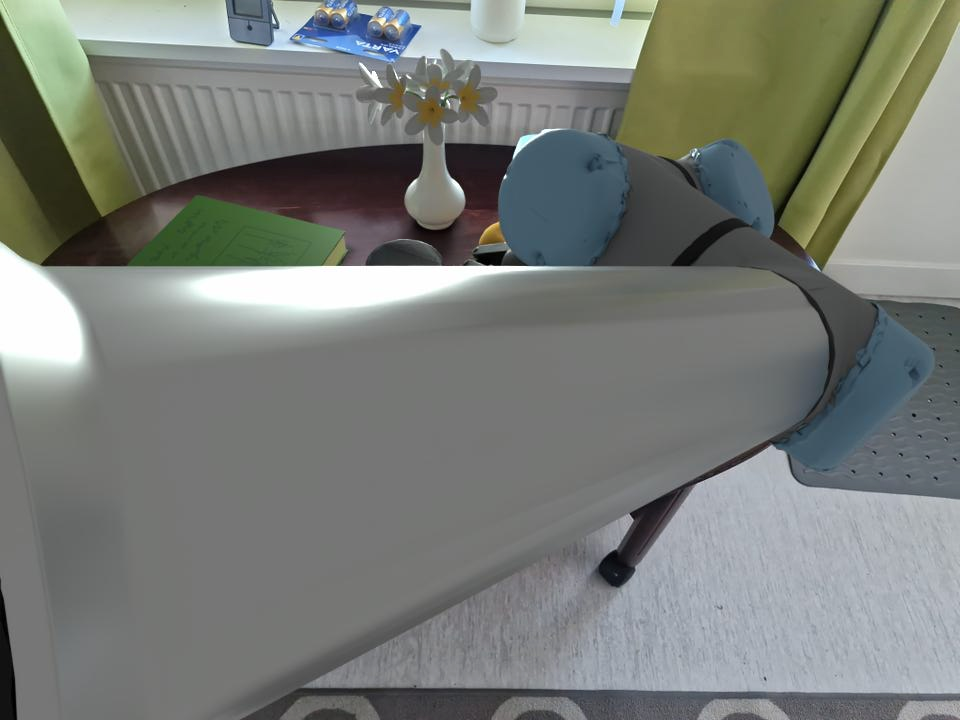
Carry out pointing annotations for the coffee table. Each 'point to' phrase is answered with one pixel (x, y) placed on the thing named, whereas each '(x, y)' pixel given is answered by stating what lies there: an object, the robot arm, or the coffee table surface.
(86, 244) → the coffee table surface
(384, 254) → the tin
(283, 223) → the book
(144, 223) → the coffee table surface
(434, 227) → the flower vase
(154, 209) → the coffee table surface
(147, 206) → the coffee table surface
